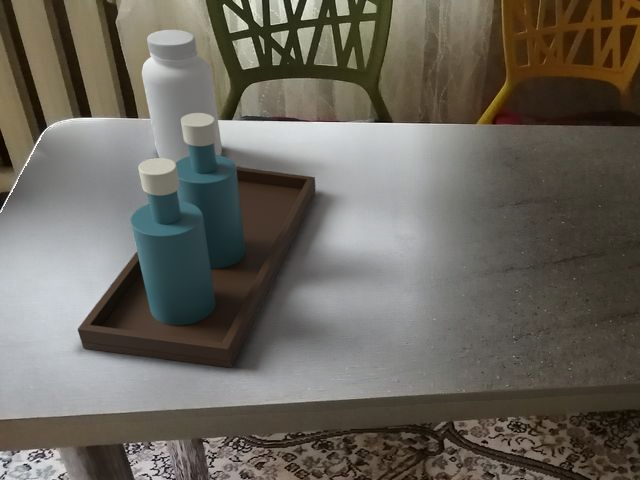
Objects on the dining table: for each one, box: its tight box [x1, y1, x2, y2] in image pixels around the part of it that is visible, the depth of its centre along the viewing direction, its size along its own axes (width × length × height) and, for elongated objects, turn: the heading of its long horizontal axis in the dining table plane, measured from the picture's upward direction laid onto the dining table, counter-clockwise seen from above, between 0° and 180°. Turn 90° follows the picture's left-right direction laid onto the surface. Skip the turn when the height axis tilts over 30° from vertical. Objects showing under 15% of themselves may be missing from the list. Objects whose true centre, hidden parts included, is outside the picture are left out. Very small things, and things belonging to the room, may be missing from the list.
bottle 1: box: [130, 157, 216, 325], centre depth 68 cm, size 6×6×15 cm
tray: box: [77, 166, 316, 369], centre depth 79 cm, size 33×14×2 cm, turn 175°
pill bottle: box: [141, 29, 223, 163], centre depth 92 cm, size 8×8×15 cm
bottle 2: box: [175, 113, 245, 269], centre depth 75 cm, size 6×6×15 cm
